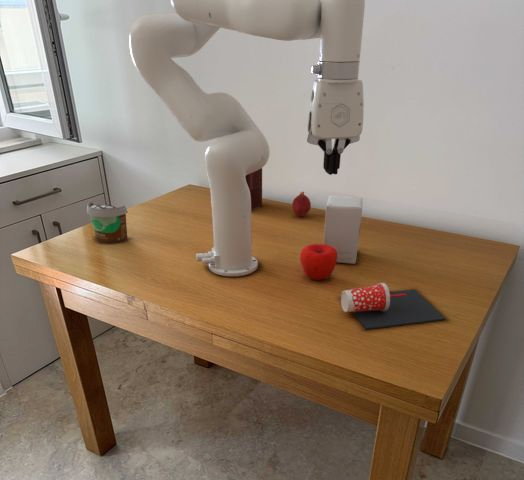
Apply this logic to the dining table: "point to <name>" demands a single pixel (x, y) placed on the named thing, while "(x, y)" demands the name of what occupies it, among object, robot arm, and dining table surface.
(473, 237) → the dining table surface
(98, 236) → the food container
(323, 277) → the apple
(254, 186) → the toy vending machine
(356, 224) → the white product box
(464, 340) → the dining table surface
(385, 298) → the beverage cup
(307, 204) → the onion
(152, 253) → the dining table surface
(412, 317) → the mat
